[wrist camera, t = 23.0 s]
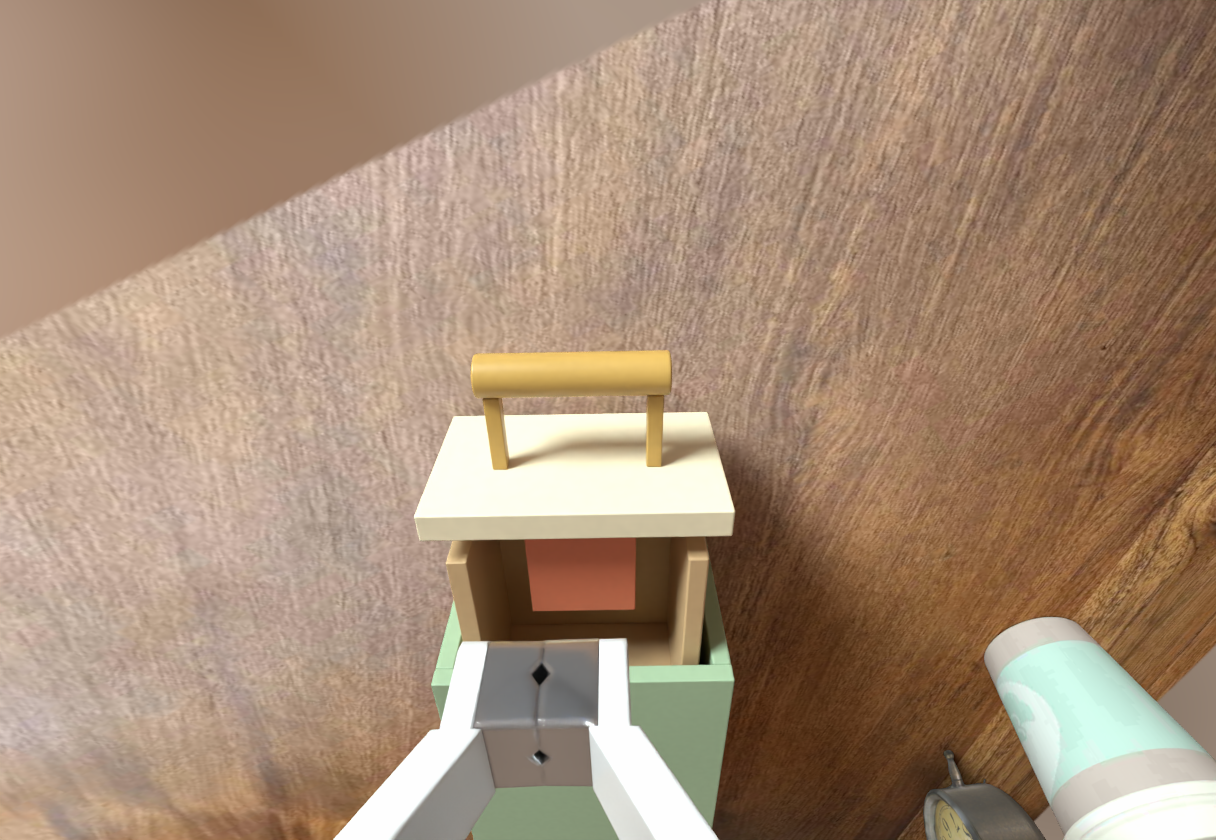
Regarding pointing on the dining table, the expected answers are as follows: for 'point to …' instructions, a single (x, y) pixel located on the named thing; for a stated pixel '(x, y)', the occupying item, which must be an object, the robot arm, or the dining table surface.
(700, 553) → the drawer
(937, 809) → the alarm clock
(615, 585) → the block
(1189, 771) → the coffee cup
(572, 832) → the cabinet
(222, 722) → the dining table surface
